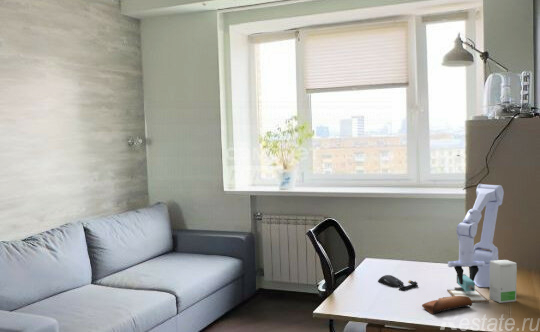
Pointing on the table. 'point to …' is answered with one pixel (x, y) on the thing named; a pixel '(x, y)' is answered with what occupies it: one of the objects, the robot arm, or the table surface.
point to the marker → (467, 283)
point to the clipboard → (468, 294)
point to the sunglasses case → (447, 303)
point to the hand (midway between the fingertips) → (466, 283)
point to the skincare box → (503, 281)
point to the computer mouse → (396, 282)
